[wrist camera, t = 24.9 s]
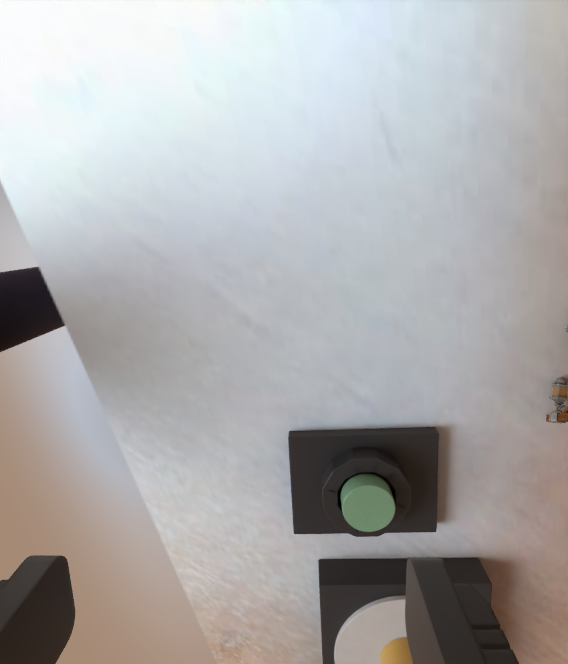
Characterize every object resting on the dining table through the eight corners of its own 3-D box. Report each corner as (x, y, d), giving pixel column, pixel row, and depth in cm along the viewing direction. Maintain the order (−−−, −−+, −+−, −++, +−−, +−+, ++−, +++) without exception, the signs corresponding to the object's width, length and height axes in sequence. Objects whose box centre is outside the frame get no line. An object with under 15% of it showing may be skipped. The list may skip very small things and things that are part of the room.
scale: (324, 684, 44) (325, 722, 40) (318, 559, 41) (319, 590, 37) (472, 685, 43) (486, 724, 39) (478, 557, 40) (494, 588, 36)
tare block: (294, 525, 40) (293, 549, 37) (288, 431, 38) (287, 448, 35) (432, 523, 39) (442, 547, 36) (434, 426, 37) (445, 444, 34)
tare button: (341, 518, 37) (342, 532, 35) (339, 473, 36) (341, 485, 34) (391, 517, 36) (395, 531, 35) (391, 472, 35) (395, 484, 34)
